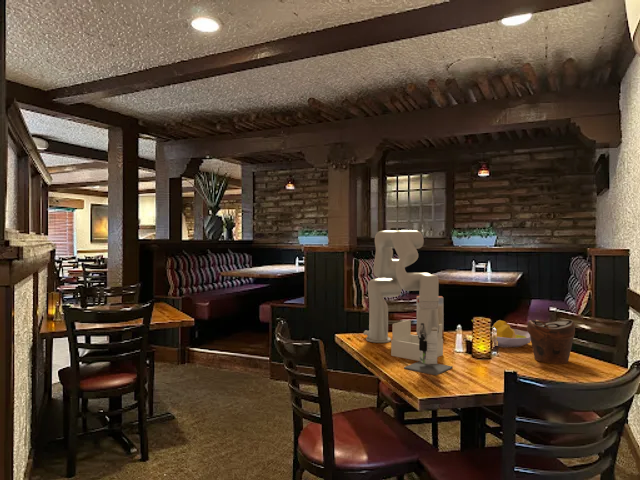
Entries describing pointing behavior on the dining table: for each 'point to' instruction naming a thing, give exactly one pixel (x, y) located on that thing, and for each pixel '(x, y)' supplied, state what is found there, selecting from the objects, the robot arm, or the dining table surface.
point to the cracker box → (440, 311)
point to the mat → (428, 368)
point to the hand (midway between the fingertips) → (428, 348)
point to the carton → (409, 341)
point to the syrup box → (430, 348)
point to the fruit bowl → (510, 335)
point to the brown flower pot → (551, 340)
